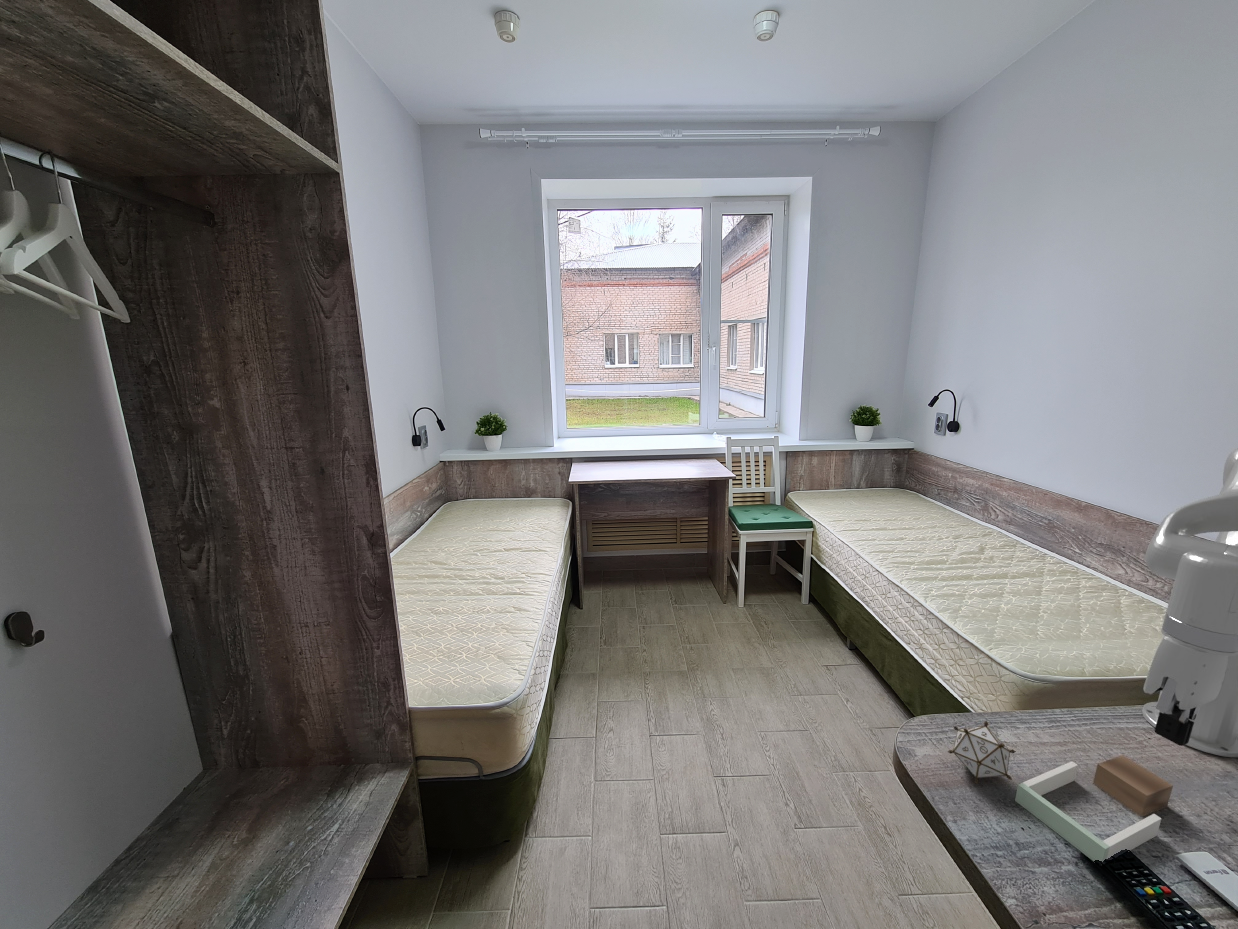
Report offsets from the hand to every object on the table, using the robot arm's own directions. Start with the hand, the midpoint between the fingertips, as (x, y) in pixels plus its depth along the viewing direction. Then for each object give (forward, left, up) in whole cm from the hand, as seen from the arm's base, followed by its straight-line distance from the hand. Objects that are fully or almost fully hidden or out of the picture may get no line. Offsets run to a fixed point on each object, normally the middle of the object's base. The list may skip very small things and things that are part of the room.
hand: (1170, 738), depth 76 cm
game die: (+26, -11, -9) cm, 29 cm away
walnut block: (+8, 0, -9) cm, 11 cm away
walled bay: (+19, 0, -8) cm, 20 cm away
